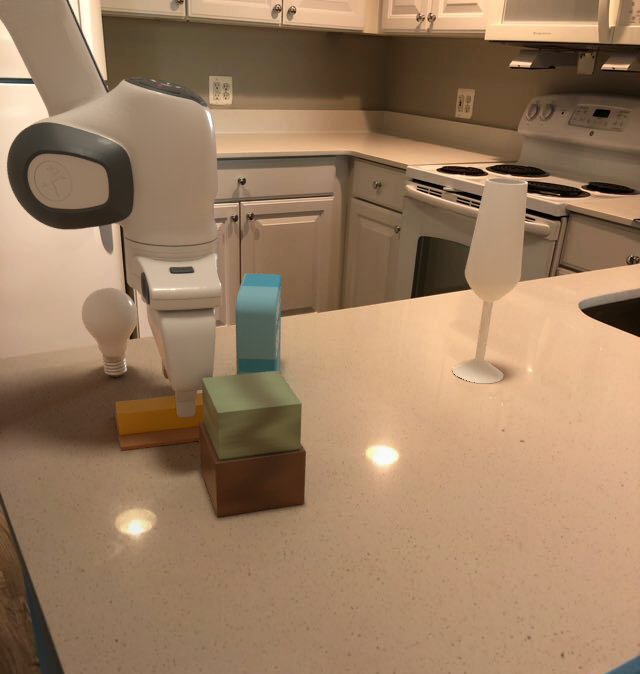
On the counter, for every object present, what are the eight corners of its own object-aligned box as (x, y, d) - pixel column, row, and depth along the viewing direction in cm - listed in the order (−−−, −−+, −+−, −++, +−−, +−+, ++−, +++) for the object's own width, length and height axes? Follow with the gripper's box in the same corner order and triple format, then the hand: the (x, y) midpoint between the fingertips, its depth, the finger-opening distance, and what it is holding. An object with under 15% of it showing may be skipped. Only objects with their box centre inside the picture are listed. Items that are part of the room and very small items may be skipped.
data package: (275, 399, 83) (276, 301, 78) (236, 398, 83) (234, 299, 77) (280, 360, 94) (281, 271, 88) (246, 359, 94) (245, 269, 88)
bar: (119, 435, 73) (117, 414, 72) (117, 422, 76) (115, 401, 75) (251, 420, 77) (251, 399, 76) (245, 408, 80) (245, 388, 79)
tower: (217, 517, 62) (213, 415, 57) (200, 471, 68) (196, 376, 64) (304, 503, 64) (307, 404, 60) (280, 460, 71) (281, 368, 66)
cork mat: (120, 450, 71) (120, 447, 71) (114, 415, 78) (114, 412, 78) (256, 433, 76) (256, 430, 75) (239, 402, 82) (239, 399, 82)
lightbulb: (102, 390, 84) (92, 300, 78) (80, 372, 88) (69, 286, 83) (151, 378, 87) (144, 291, 82) (128, 361, 91) (120, 278, 86)
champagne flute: (441, 371, 93) (465, 179, 81) (471, 359, 97) (498, 174, 86) (484, 388, 88) (516, 187, 77) (513, 374, 93) (548, 182, 81)
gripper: (128, 240, 76) (137, 359, 83) (152, 298, 59) (160, 442, 66) (187, 239, 78) (191, 355, 85) (226, 295, 61) (227, 435, 68)
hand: (177, 394), depth 75 cm, fingers open, 8 cm apart
